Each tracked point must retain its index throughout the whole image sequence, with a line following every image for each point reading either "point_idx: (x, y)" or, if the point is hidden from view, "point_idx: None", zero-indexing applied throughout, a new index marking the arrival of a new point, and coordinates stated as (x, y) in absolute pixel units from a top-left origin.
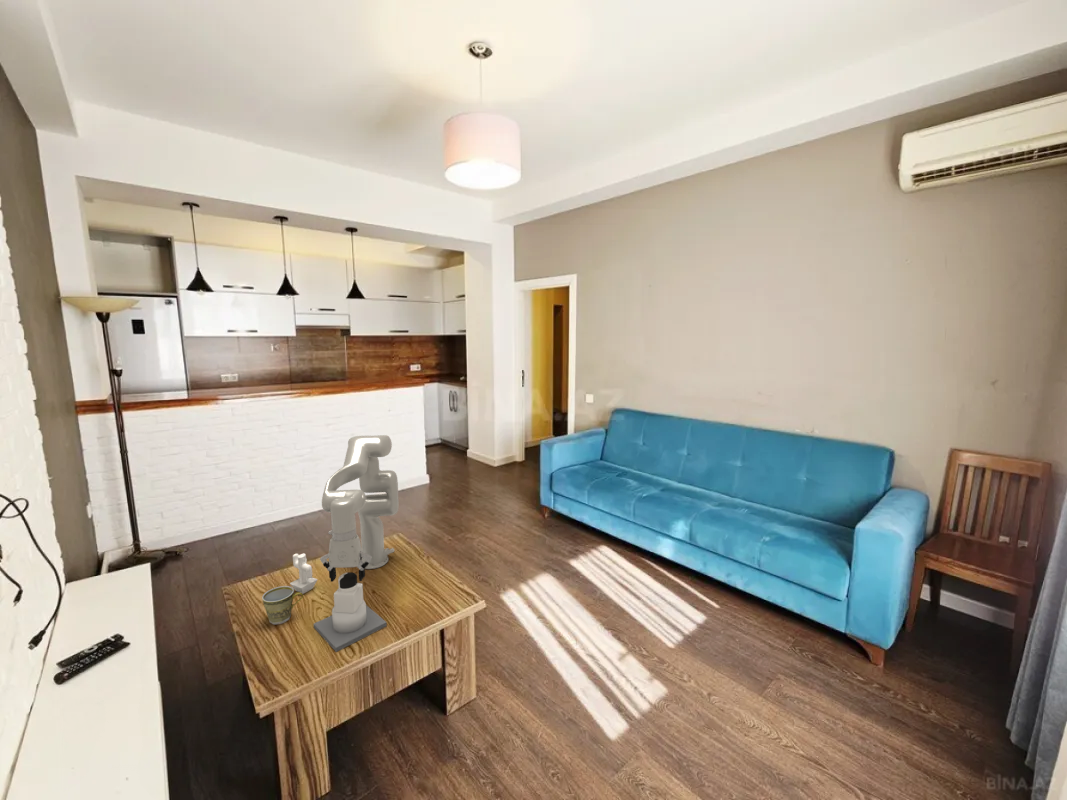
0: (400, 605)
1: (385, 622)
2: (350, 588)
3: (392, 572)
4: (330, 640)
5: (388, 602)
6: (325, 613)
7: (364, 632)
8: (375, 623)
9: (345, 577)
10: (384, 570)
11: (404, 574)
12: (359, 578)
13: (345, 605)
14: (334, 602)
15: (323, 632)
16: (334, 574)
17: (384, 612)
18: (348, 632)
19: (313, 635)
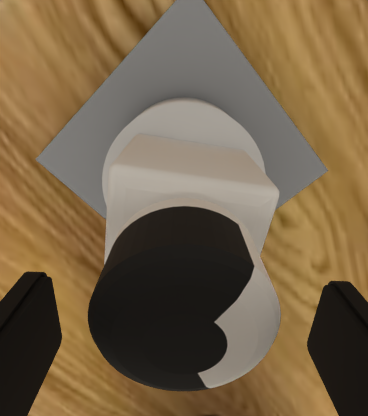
0: (45, 264)
1: (38, 158)
2: (139, 215)
3: (138, 402)
4: (231, 47)
5: (94, 281)
6: (294, 240)
7: (99, 95)
8: (77, 154)
9: (193, 310)
10: (165, 410)
11: (98, 394)
12: (24, 293)
13: (184, 150)
14: (258, 167)
15: (275, 108)
16: (339, 363)
17: (86, 232)
18: (168, 98)
19: (312, 117)
